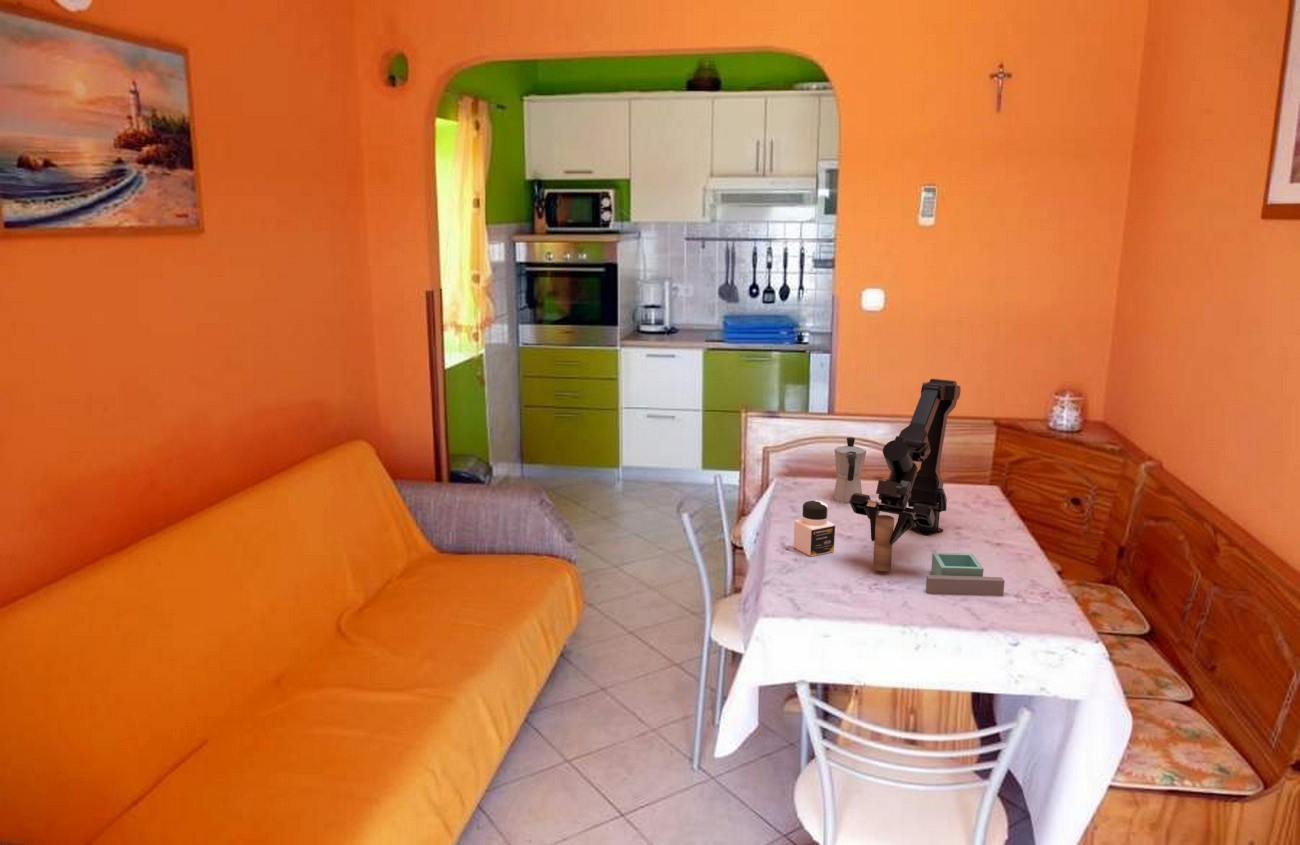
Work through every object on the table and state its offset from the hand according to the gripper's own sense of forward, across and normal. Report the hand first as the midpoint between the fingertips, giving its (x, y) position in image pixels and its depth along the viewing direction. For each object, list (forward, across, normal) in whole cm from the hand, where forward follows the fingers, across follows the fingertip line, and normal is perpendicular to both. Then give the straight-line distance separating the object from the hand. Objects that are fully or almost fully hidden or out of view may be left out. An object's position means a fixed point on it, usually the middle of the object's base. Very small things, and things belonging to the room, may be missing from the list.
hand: (881, 542), depth 212 cm
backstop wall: (+6, +19, +5) cm, 20 cm away
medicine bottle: (+1, -19, +10) cm, 21 cm away
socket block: (+1, +16, +10) cm, 18 cm away
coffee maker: (-28, -26, +40) cm, 55 cm away
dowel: (+4, 0, +6) cm, 7 cm away
